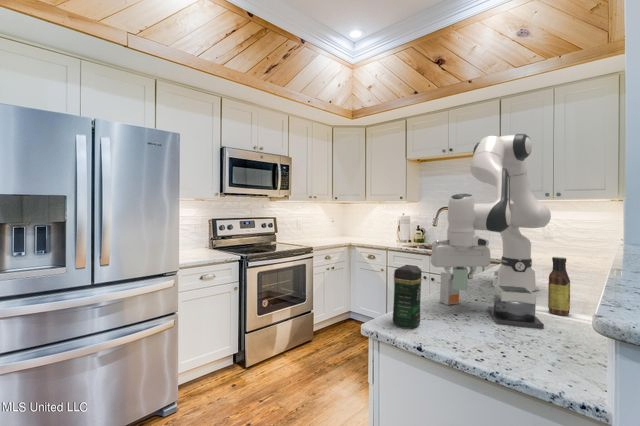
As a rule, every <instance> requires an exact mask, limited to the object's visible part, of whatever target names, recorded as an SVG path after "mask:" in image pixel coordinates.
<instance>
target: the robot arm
mask: <svg viewBox="0 0 640 426" xmlns="http://www.w3.org/2000/svg"><path fill="white" fill-rule="evenodd" d="M532 147H533V143H532V140H531V138H530V136H528V135H527V134H526V133H516V134H509V135H500V136H496V135H488V136H485V137H483V138H482V139H481V140H480V141H479V142H477V143H476V144H475V146H474V148H473V151H472V154H473V156H472V159H471V162H470V167H469V169H470V173H471V174H472V176H473V177H474V178H475V179H476V180H478V181H479V182H480V183H484V184H489V185H492V186H494V187H495V201H494V202H490V203H476V202H475V200H474V195H473V194H471V193H459V194H458V193H456V194H453V195H452V196H450V198H449V201H448V205H447V222H448V227H447V232H446V236H447V237H446V240H445V239H442V240H440V239H439V240H435V241H433V242H432V243H431V256H430V264H431V265H432V266H433V267H434V268H443V270H444V272H446V273H447V279H449V280H453V274H451V273H450V271H452V270H451V268H453V267H466V268H469V269H470V270H468V280H474V279H473V278H474V274H475V273H476V271H477V268H479V267H484V268H485V267H489V266H490V264H491V250H490V248H489V245H490V241H489V239H486V238H482V237H480V236H478V235H475V234H476V233H475V231H488V232H495V233H500V237H501V241H502V255H501V258H500V259H501V260H500V265H499V268H498V270H494V271H493V272H494V273H493V275H494V276H495V278H492V287H494V288H495V285H505V286H518V287H527V288H528V289H530V290H531V291H532V292H534V291H540V287H538V286H537V284H536V282H537V281H536V272H535V270H534V269H533V268H532V266H533V259H532V257H531V256H532V243H531V240H530V238H528V237H526V236H524V235H523V234H522V233H521V232H520V229H521V228H522V229H523V228H525V229H537V228H538V229H539V228H544V227H546V226H548V224H549V223H550V221H551V218H552V214H551V211H550V209H549V208H548V207H547V206H546V205H545V204H543V203H542V202H540V201H539V200H538V199H537V198H536V196H535V195H534V194H533V192H532V190H531V188H530V184H529V177H528V173H527V166H526V162H525V160H526V159H527V158H528V157H529V156H531V152H532V149H533V148H532ZM511 201H512V203H511Z"/></svg>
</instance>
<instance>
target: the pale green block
mask: <svg viewBox="0 0 640 426" xmlns="http://www.w3.org/2000/svg"><path fill="white" fill-rule="evenodd" d="M452 271H453V282H452V286H453V289H454V290H459V291H469V290H468V288H469V287H468V282H469V281H468V280H469V279H468V273H469V269H468V267H452Z"/></svg>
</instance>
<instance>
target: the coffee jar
mask: <svg viewBox="0 0 640 426" xmlns="http://www.w3.org/2000/svg"><path fill="white" fill-rule="evenodd" d="M393 284H394V285H393V286H394V287H393V307H392V323H393V325H395V326H397V327H399V328H403V329H407V328H408V329H414V328H416V327H417V326H418V325H420V322H421V301H422V300H421V297H422V296H421V295H422V294H421V293H422V291H421V290H422V269H421V268H420V267H419V266H418V265H414V264H413V265H412V264H405V265H402V266H400V267H397V268H395V269H394V273H393Z"/></svg>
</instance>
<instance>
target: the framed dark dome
mask: <svg viewBox="0 0 640 426" xmlns="http://www.w3.org/2000/svg"><path fill="white" fill-rule="evenodd" d="M536 305H537V293H535V292H534V291H531V290H530V289H528V288H527V287H518V286H505V285H495V287H494V295H493V306H491V305H489V306H487V311H488V313H489V315H490V316H491V318H492V319H493V321H494V323H495V324H496V325H503V326H512V327H520V328H521V327H522V328H531V329H539V330H544V329H545V324H544V322H542V321H541V320H540V319H539V318H538V317H537V316H536V308H537V306H536Z"/></svg>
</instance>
